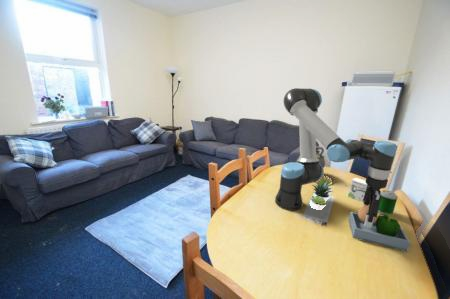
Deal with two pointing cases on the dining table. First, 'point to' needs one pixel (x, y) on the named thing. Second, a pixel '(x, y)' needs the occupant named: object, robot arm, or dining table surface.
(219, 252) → the dining table surface
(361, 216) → the egg
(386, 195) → the soda can
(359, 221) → the tray
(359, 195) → the ink box
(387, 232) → the bell pepper
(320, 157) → the pot
